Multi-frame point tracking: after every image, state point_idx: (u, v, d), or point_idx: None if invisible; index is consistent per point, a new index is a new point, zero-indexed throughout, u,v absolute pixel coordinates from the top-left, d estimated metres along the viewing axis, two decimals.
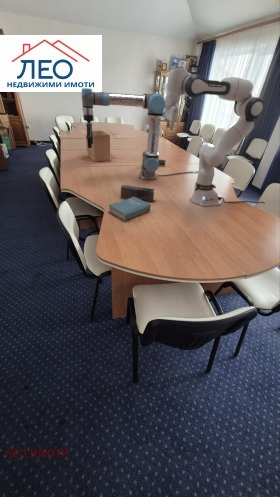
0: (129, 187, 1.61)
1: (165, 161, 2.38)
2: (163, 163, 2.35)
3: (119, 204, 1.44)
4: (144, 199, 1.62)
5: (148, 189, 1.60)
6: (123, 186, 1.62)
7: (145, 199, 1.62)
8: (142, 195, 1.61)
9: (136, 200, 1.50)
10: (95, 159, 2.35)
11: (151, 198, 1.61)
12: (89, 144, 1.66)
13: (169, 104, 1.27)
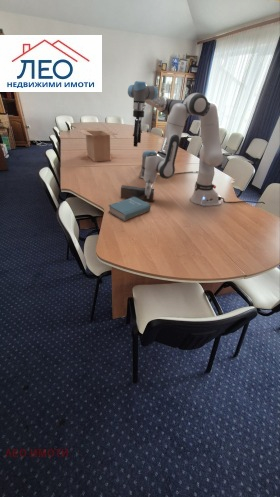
0: (129, 187, 1.61)
1: None
2: None
3: (119, 204, 1.44)
4: (144, 199, 1.62)
5: None
6: (123, 186, 1.62)
7: (145, 199, 1.62)
8: (142, 195, 1.61)
9: (136, 200, 1.50)
10: (95, 159, 2.35)
11: (151, 198, 1.61)
12: None
13: (145, 180, 1.53)
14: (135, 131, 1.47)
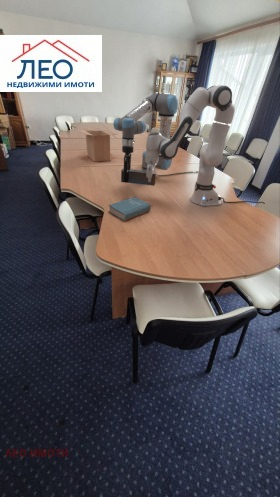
0: (130, 170, 1.54)
1: None
2: None
3: (119, 204, 1.44)
4: (145, 183, 1.55)
5: None
6: (123, 169, 1.54)
7: (146, 183, 1.55)
8: (144, 178, 1.53)
9: (136, 200, 1.50)
10: (95, 159, 2.35)
11: (152, 182, 1.54)
12: None
13: (147, 162, 1.46)
14: (125, 169, 1.48)
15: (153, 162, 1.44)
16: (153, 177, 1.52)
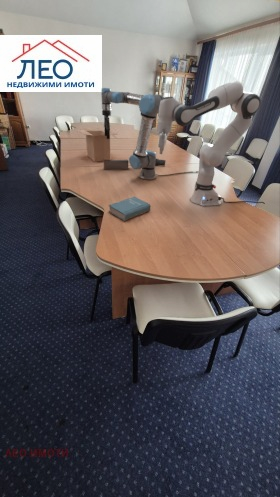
0: (109, 160, 2.14)
1: (165, 161, 2.38)
2: (163, 163, 2.35)
3: (119, 204, 1.44)
4: (122, 168, 2.19)
5: (123, 160, 2.18)
6: (105, 160, 2.13)
7: (122, 168, 2.19)
8: (120, 165, 2.17)
9: (136, 200, 1.50)
10: (95, 159, 2.35)
11: (126, 166, 2.20)
12: None
13: (159, 130, 1.34)
14: (108, 126, 1.89)
15: (166, 130, 1.33)
16: (127, 163, 2.18)
